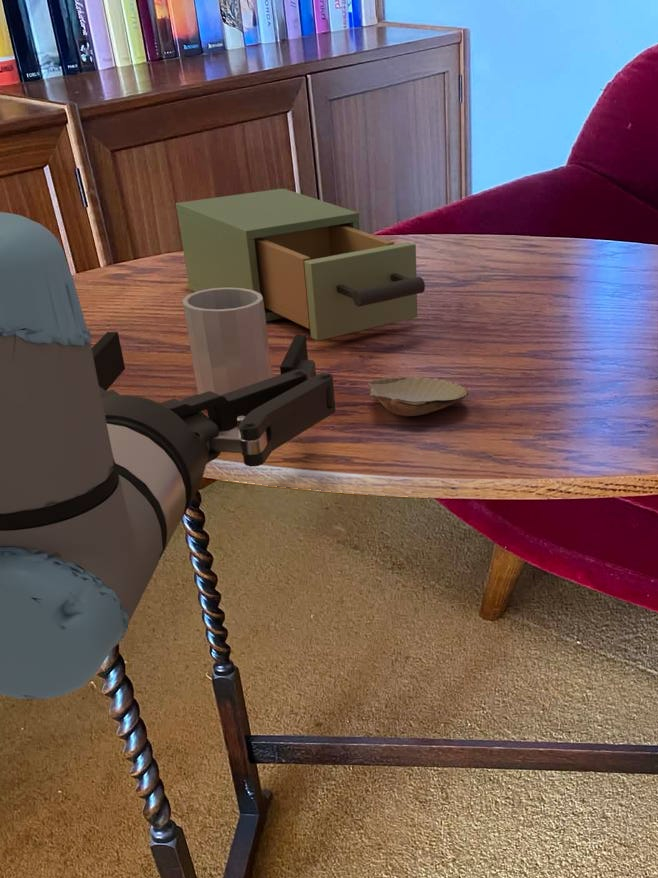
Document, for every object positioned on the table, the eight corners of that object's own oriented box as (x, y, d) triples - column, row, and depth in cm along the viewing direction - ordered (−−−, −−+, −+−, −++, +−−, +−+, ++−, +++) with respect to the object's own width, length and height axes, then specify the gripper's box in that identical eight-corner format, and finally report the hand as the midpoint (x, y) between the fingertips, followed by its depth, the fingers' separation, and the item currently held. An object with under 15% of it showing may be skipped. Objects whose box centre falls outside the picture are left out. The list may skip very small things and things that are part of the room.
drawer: (444, 328, 91) (444, 253, 87) (343, 353, 85) (337, 274, 81) (341, 285, 102) (336, 217, 98) (244, 305, 96) (235, 233, 92)
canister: (186, 395, 79) (169, 296, 74) (251, 379, 82) (238, 283, 77) (220, 418, 75) (205, 315, 70) (287, 400, 78) (276, 300, 74)
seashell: (474, 423, 79) (396, 382, 81) (485, 389, 78) (405, 348, 80) (422, 443, 73) (339, 398, 75) (434, 406, 71) (348, 361, 73)
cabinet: (364, 300, 100) (359, 212, 95) (257, 324, 94) (245, 230, 89) (291, 270, 109) (283, 188, 104) (189, 289, 103) (175, 203, 98)
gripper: (-84, 539, 55) (51, 398, 72) (350, 545, 55) (382, 403, 73) (-131, 415, 51) (25, 296, 68) (340, 423, 51) (377, 302, 68)
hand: (209, 351), depth 70 cm, fingers open, 13 cm apart
